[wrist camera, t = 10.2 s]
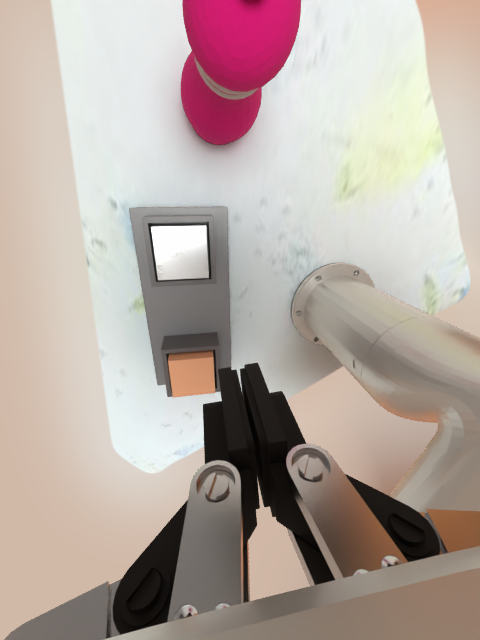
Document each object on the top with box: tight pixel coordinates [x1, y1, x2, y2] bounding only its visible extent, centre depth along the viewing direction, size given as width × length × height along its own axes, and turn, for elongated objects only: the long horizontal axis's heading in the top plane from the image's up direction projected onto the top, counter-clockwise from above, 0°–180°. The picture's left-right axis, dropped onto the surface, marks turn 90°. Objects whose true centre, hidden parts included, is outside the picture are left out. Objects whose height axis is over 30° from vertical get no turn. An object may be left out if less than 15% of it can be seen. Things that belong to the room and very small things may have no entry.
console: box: [129, 207, 231, 397], centre depth 32 cm, size 22×10×8 cm, turn 1°
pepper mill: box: [181, 0, 301, 145], centre depth 19 cm, size 7×7×20 cm
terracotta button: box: [168, 350, 215, 397], centre depth 32 cm, size 5×5×3 cm
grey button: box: [151, 223, 209, 280], centre depth 27 cm, size 5×5×3 cm
